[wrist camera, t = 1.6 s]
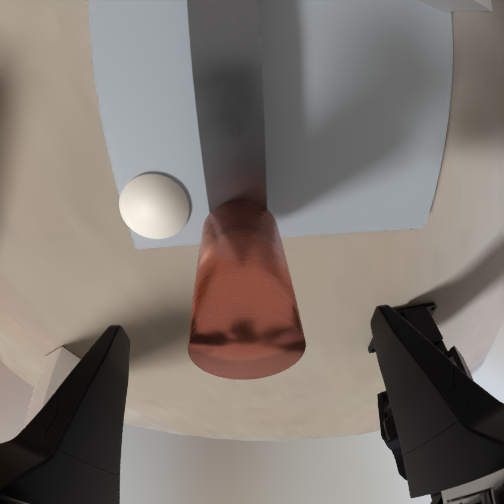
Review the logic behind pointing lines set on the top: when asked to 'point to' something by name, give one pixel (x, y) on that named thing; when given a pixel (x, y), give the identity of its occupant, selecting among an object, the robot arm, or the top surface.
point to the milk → (50, 379)
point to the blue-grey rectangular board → (284, 113)
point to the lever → (237, 206)
